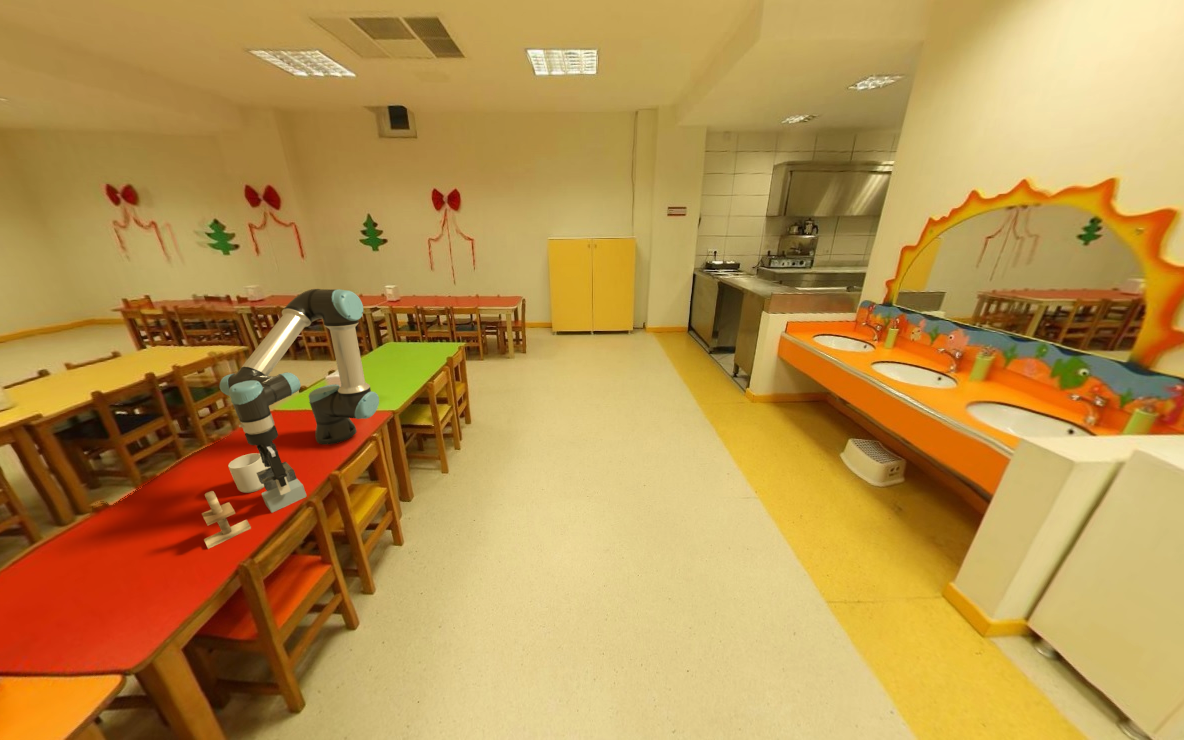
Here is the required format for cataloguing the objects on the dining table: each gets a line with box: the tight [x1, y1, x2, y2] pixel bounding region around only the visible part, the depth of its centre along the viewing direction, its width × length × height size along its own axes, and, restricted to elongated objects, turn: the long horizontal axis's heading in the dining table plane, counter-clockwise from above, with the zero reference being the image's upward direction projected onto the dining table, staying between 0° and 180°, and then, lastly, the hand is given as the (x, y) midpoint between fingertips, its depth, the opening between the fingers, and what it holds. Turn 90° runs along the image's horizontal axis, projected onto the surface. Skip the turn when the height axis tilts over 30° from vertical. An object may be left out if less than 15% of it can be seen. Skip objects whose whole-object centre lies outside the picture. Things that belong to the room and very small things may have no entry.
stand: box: [201, 490, 252, 550], centre depth 113 cm, size 10×6×16 cm, turn 143°
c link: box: [257, 461, 298, 491], centre depth 126 cm, size 8×8×4 cm
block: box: [261, 478, 308, 513], centre depth 129 cm, size 10×6×5 cm, turn 143°
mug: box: [228, 452, 267, 494], centre depth 136 cm, size 12×9×11 cm
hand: (281, 487), depth 128 cm, fingers closed on c link, 8 cm apart
